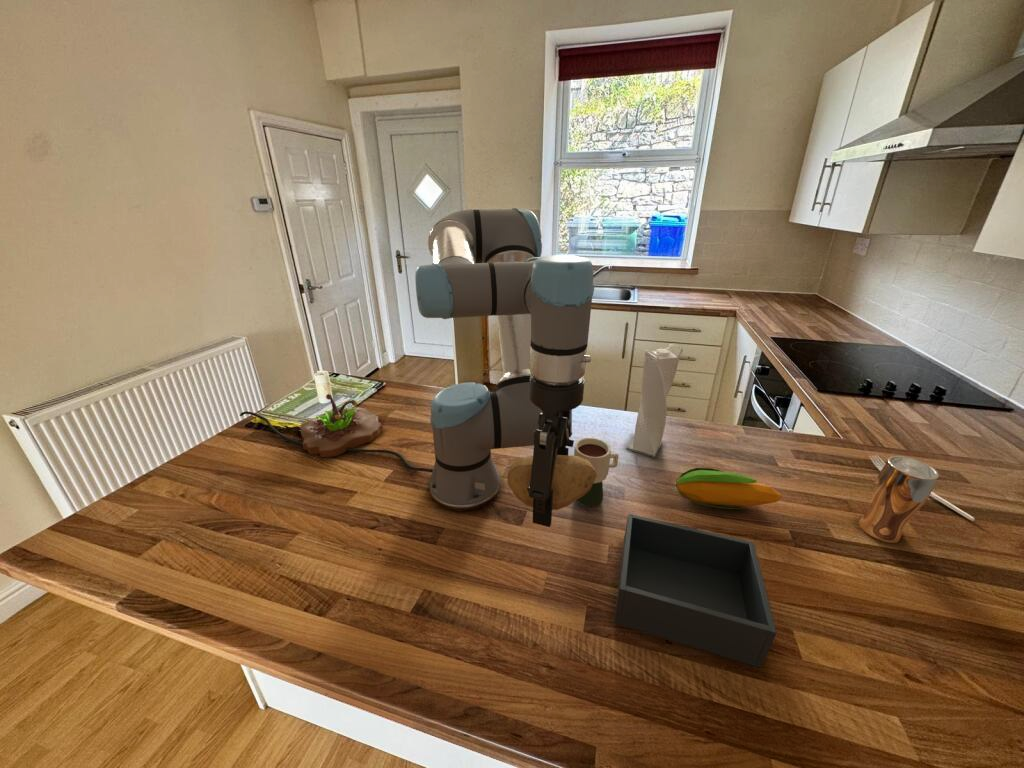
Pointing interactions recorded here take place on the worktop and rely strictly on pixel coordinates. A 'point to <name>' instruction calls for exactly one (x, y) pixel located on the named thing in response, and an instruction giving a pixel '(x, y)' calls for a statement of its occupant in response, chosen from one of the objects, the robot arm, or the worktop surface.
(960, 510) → the fork
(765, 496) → the corn
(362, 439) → the plant
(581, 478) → the potato
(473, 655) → the worktop surface
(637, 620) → the bin
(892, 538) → the silver curved cylinder
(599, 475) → the character mug
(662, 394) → the skyscraper
